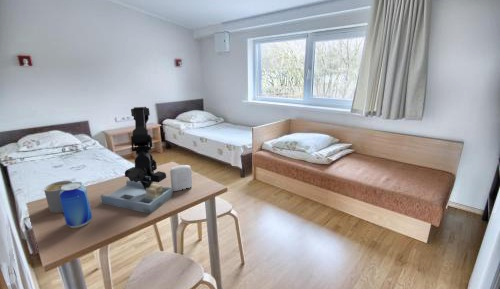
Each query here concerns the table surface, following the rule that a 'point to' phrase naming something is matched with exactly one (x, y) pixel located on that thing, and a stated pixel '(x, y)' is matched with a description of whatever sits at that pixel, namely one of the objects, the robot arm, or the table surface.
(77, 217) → the beer can
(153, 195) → the beech block
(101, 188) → the table surface
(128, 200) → the box
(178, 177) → the photo printer
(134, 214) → the table surface
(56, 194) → the coffee mug
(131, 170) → the robot arm
